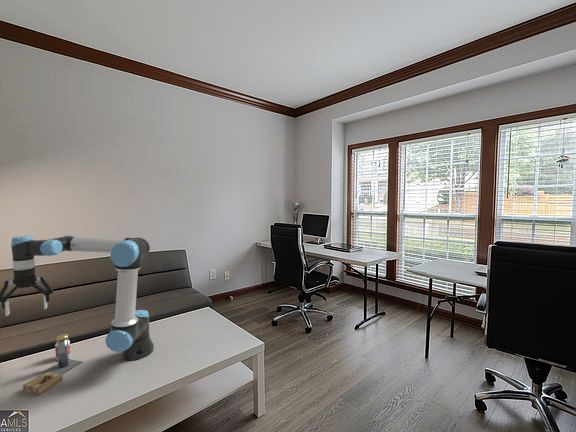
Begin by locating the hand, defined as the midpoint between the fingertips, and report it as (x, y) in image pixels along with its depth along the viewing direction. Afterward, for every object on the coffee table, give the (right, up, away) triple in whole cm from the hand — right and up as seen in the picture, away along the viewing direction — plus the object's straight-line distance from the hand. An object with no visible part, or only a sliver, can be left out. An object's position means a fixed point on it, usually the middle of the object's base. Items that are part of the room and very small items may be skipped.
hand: (27, 311), depth 133 cm
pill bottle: (+6, -30, +14) cm, 34 cm away
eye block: (+15, -31, -8) cm, 36 cm away
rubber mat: (+13, -30, +6) cm, 33 cm away
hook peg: (+13, -30, +6) cm, 33 cm away
